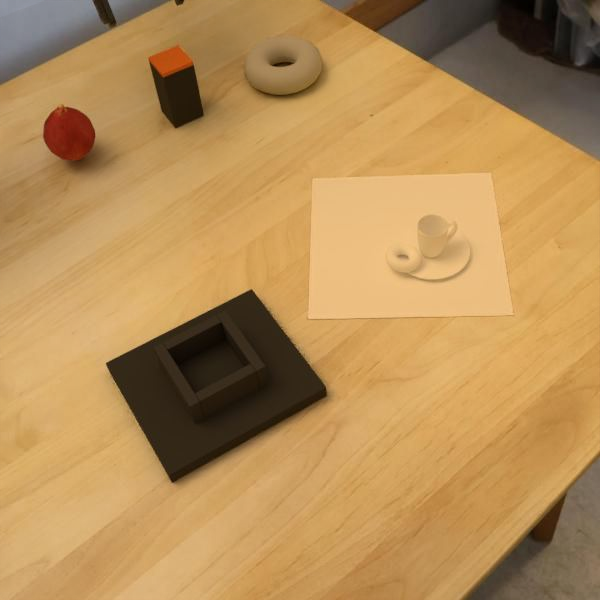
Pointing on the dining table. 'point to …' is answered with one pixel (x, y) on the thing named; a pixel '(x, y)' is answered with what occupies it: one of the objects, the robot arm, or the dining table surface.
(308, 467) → the dining table surface
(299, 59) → the donut
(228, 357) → the base pad
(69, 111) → the pomegranate
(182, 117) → the pad block
